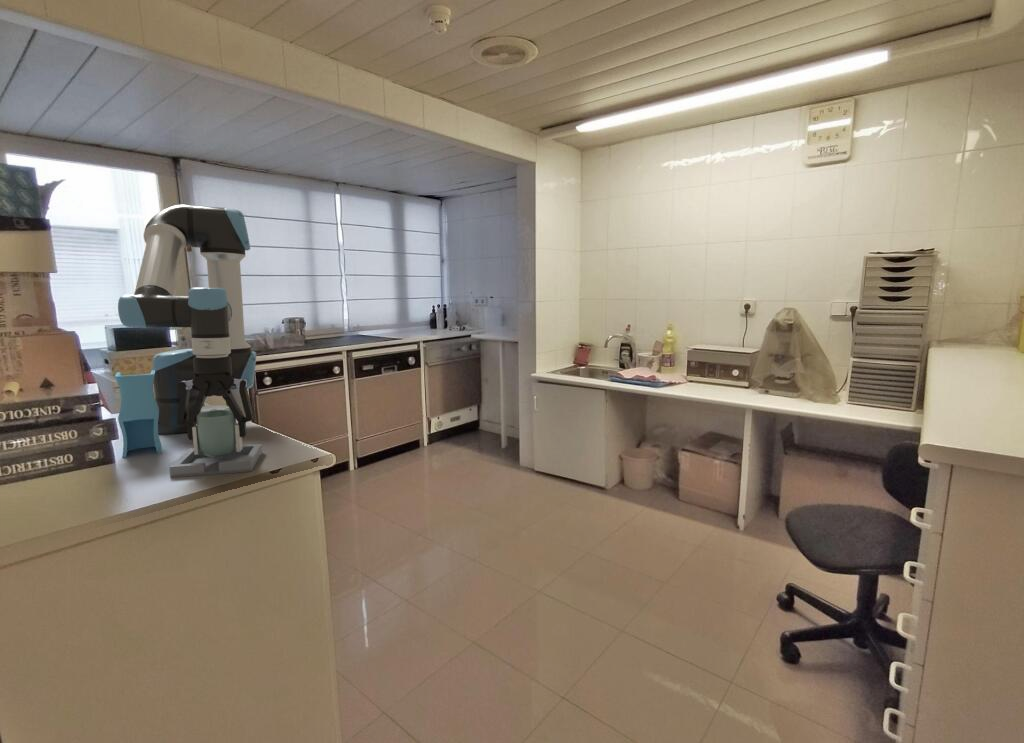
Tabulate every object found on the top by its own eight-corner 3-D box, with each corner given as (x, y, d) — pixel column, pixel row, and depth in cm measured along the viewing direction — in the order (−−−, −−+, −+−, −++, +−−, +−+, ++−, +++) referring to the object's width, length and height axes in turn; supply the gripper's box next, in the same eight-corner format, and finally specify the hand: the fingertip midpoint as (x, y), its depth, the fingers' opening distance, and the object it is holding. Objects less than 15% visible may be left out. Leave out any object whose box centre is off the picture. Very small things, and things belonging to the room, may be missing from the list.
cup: (210, 462, 112) (207, 419, 110) (193, 455, 116) (189, 414, 114) (244, 453, 118) (242, 412, 117) (226, 447, 122) (224, 408, 121)
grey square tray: (190, 457, 122) (189, 448, 121) (262, 452, 126) (261, 443, 126) (170, 477, 108) (169, 467, 108) (251, 471, 113) (250, 461, 113)
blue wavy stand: (162, 444, 132) (155, 370, 129) (161, 452, 125) (154, 374, 122) (124, 449, 127) (116, 372, 124) (122, 457, 121) (113, 376, 118)
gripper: (152, 358, 107) (161, 460, 110) (259, 356, 113) (264, 453, 117) (165, 354, 114) (173, 450, 117) (265, 353, 120) (270, 444, 124)
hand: (218, 451), depth 117 cm, fingers closed on cup, 8 cm apart
